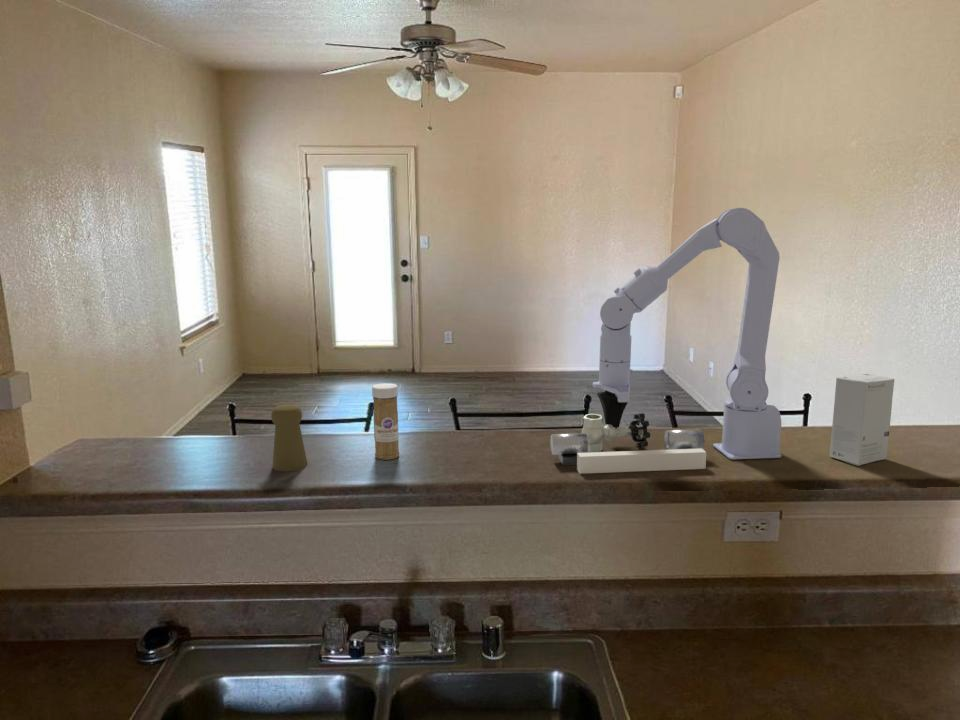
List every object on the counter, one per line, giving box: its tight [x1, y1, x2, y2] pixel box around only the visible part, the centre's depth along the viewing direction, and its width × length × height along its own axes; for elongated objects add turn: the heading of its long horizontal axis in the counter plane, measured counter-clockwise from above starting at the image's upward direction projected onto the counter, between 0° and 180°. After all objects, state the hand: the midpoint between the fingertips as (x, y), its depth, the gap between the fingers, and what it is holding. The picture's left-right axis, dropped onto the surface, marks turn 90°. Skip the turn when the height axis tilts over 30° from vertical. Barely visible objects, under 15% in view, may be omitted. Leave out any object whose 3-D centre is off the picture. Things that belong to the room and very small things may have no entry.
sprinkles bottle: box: [371, 382, 400, 460], centre depth 126 cm, size 5×5×13 cm
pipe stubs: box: [550, 428, 705, 466], centre depth 124 cm, size 27×4×5 cm, turn 95°
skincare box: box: [829, 373, 895, 467], centre depth 123 cm, size 8×6×15 cm
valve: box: [581, 413, 651, 453], centre depth 129 cm, size 7×7×12 cm
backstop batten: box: [576, 448, 707, 475], centre depth 119 cm, size 22×2×3 cm, turn 95°
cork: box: [270, 403, 309, 473], centre depth 122 cm, size 6×6×11 cm
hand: (612, 429), depth 133 cm, fingers closed
